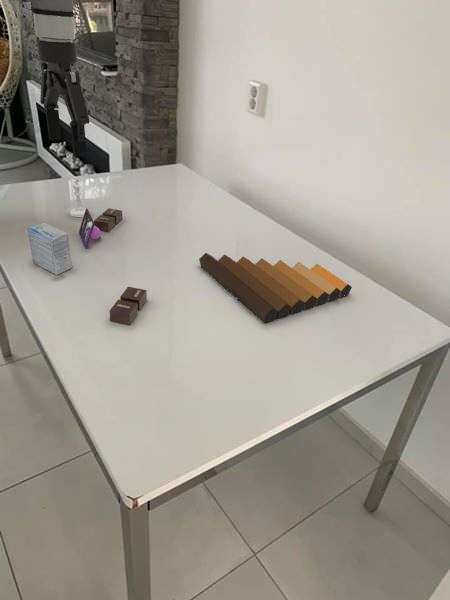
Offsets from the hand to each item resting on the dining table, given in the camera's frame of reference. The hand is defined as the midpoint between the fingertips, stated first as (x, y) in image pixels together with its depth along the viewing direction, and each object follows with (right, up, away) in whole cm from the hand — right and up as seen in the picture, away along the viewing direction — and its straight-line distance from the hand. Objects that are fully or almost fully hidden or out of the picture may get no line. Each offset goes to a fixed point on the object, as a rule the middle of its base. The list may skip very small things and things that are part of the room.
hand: (67, 147), depth 102 cm
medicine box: (-2, -27, -2) cm, 28 cm away
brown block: (+5, -15, +18) cm, 23 cm away
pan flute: (+47, -30, +2) cm, 56 cm away
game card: (+3, -20, +10) cm, 22 cm away
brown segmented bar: (+17, -37, -13) cm, 43 cm away
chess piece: (-4, -11, +22) cm, 25 cm away
